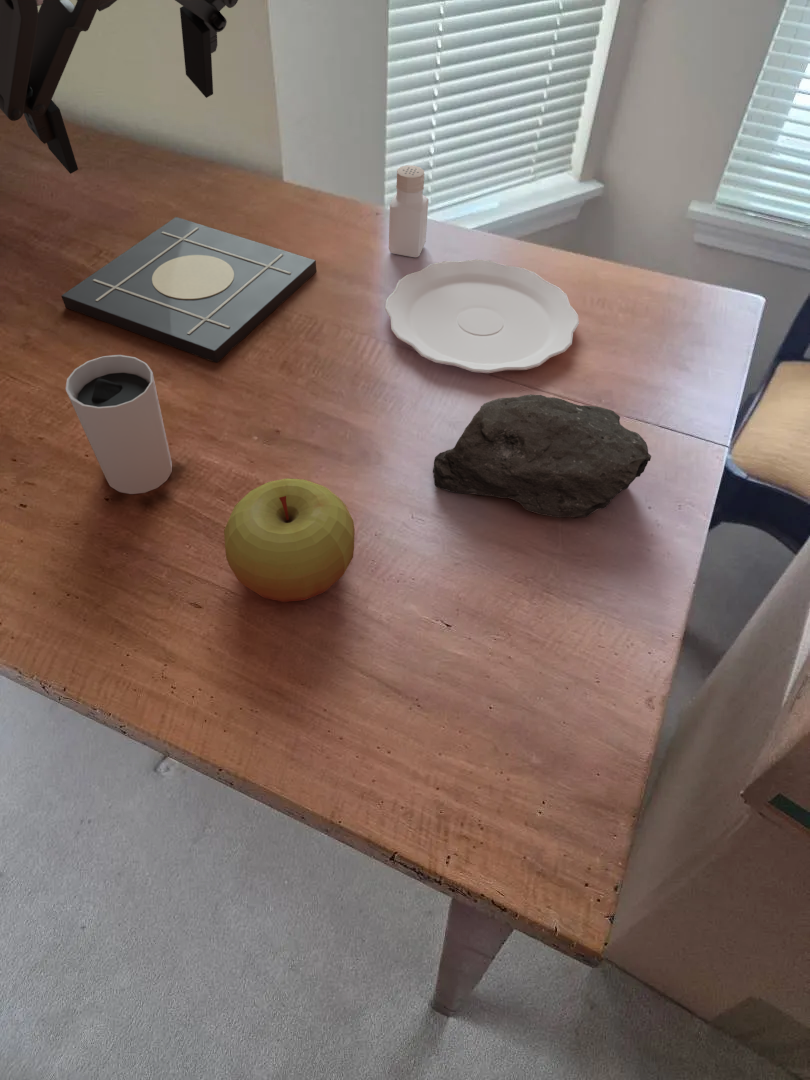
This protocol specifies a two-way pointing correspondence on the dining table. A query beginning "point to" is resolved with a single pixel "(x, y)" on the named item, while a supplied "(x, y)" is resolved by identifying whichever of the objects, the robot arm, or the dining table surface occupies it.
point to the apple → (289, 539)
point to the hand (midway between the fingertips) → (133, 121)
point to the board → (192, 287)
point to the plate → (481, 316)
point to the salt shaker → (408, 213)
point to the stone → (544, 456)
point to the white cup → (122, 421)
